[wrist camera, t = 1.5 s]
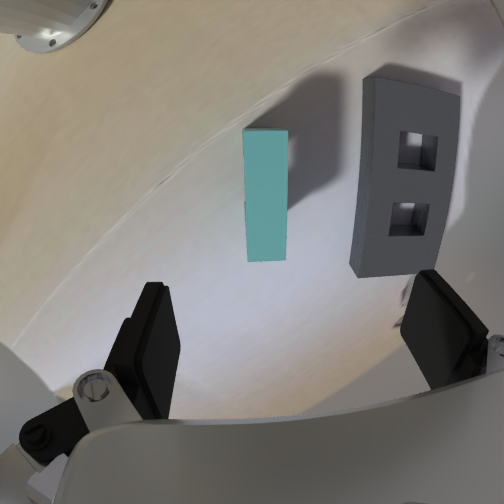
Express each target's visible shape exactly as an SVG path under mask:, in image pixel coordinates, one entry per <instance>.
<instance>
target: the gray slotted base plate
mask: <svg viewBox="0 0 504 504" xmlns="http://www.w3.org/2000/svg"><path fill="white" fill-rule="evenodd" d="M459 111H460V96H457V95H454V94H450V93H447V92H443V91H439V90H435V89H431V88H427V87H423V86H418V85H414V84H409V83H405V82H400V81H394V80H389V79H383V78H377V77H374V78H366V79H363V106H362V137H361V155H360V170H359V183H358V195H357V205H356V215H355V224H354V232H353V240H352V248H351V255H350V262H349V265H350V266H351V268H352V269H353V271H354V273H355V274H356V276H357V277H358V278H367V277H381V276H394V275H407V274H419V272H420V271H421V270H428V269H434V267H435V264H436V260H437V256H438V253H439V248H440V244H441V240H442V236H443V232H444V227H445V222H446V217H447V212H448V207H449V202H450V196H451V190H452V183H453V176H454V169H455V161H456V152H457V142H458V129H459ZM400 131H405V132H412V133H419V134H423V135H422V148H421V159H420V165H416V164H405V163H398V155H399V142H400ZM393 202H394V203H415V206H414V212H413V218H412V223H411V225H390V222H391V215H392V209H393Z"/></svg>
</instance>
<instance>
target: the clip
mask: <svg viewBox="0 0 504 504" xmlns="http://www.w3.org/2000/svg"><path fill="white" fill-rule="evenodd" d="M242 131H243V155H244V173H245V227H246V242H247V259H248V262H256V261H281V260H286V238H287V196H288V130H286V129H284V128H246V129H243V130H242Z"/></svg>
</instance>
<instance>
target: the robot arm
mask: <svg viewBox="0 0 504 504" xmlns="http://www.w3.org/2000/svg"><path fill="white" fill-rule="evenodd" d="M107 2H108V0H0V33H7V34H14V37H15V39H16V41H17V43H18V44H19V45H20V46H21V47H22V48H23V49H25V50H27V51H30V52H34V53H48V52H53V51H56V50H59V49H61V48H63V47H65V46H67V45H69V44H70V43H72V42H73V41H75V40H76V39H78V38H79V37H80V36H81V35H82V34H83V33H84V32H86V31H87V30H88V29H89V27H90V26H91V25H92V24H93V23H94V22H95V21H96V19H97V18H98V17H99V15H100V14H101V12H102V11H103V9H104V7H105V5H106V4H107ZM488 332H489V330H488V329H487V328H486V326H485V325H484V324H483V323H482V322H481V320H480V319H479V318H478V317H477V316H476V315H475V313H474V312H473V311H472V310H471V309H470V308H469V306H468V305H467V304H466V303H465V302H464V301H463V300H462V299H461V297H460V296H459V295H458V294H457V293H456V292H455V291H454V290H453V289H452V288H451V286H450V285H449V284H448V283H447V282H446V281H445V280H444V279H443V278H442V277H441V276H440V275H439V274H438V273H437V272H436V271H435V270H434V269H428V270H421V271H420V272H419V274H417V275H416V277H415V280H414V284H413V287H412V291H411V294H410V298H409V301H408V305H407V308H406V311H405V314H404V317H403V321H402V324H401V327H400V333H401V336H402V338H403V339H404V341H405V343H406V345H407V346H408V348H409V350H410V351H411V353H412V355H413V357H414V359H415V360H416V362H417V364H418V366H419V368H420V370H421V371H422V373H423V375H424V377H425V379H426V381H427V382H428V384H429V386H430V388H431V390H430V391H427V392H423V393H419V394H415V395H411V396H407V397H402V398H398V399H394V400H389V401H384V402H380V403H375V404H369V405H364V406H359V407H353V408H348V409H340V410H334V411H327V412H319V413H310V414H302V415H292V416H280V417H266V418H246V419H168V417H169V411H170V405H171V399H172V393H173V387H174V382H175V376H176V371H177V365H178V360H179V355H180V339H179V335H178V330H177V326H176V321H175V316H174V311H173V306H172V301H171V296H170V291H169V287H168V286H164V284H163V282H147V283H146V284H145V286H144V288H143V291H142V293H141V295H140V297H139V300H138V302H137V304H136V306H135V309H134V311H133V313H132V316H131V318H126V319H125V320H124V321H123V324H122V326H121V328H120V330H119V333H118V335H117V337H116V340H115V342H114V344H113V347H112V349H111V352H110V354H109V356H108V359H107V361H106V364H105V366H104V369H103V370H101V369H96V370H91V371H88V372H85V373H84V374H82V375H81V376H80V377H79V378H78V379H77V380H76V381H75V383H74V385H73V396H74V397H72V398H70V399H68V400H66V401H65V402H63V403H61V404H59V405H57V406H55V407H53V408H51V409H50V410H48V411H46V412H44V413H42V414H40V415H38V416H36V417H34V418H32V419H31V420H29V421H27V422H26V423H25V424H24V425H23V427H22V429H21V431H20V434H19V441H20V442H19V443H18V444H17V445H15V444H14V443H12V444H11V445H10V446H9V447H8V448H7V449H6V450H5V451H4V452H3V453H2V454H1V455H0V504H51V501H52V498H53V497H54V496H55V494H56V496H55V499H54V503H53V504H504V336H503V335H499V334H498V335H493V336H491V337H490V338H489V340H488V339H487V338H486V336H487V334H488Z"/></svg>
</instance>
